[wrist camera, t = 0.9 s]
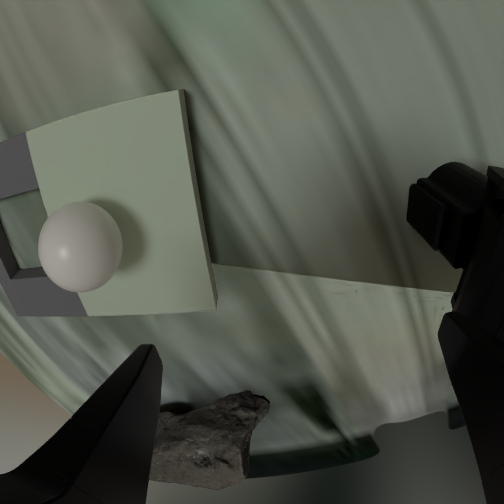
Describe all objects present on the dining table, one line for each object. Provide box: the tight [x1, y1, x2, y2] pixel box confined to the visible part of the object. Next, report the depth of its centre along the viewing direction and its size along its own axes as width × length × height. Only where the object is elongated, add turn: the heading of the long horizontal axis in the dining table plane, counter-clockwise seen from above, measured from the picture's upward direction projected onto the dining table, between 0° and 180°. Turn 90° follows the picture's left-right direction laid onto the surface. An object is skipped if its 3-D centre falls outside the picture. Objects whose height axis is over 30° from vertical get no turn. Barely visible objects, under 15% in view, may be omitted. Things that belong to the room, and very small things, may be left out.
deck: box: [0, 89, 218, 316], centre depth 19 cm, size 18×14×2 cm
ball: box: [38, 202, 123, 293], centre depth 16 cm, size 5×5×5 cm
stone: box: [149, 390, 270, 490], centre depth 28 cm, size 18×9×10 cm
